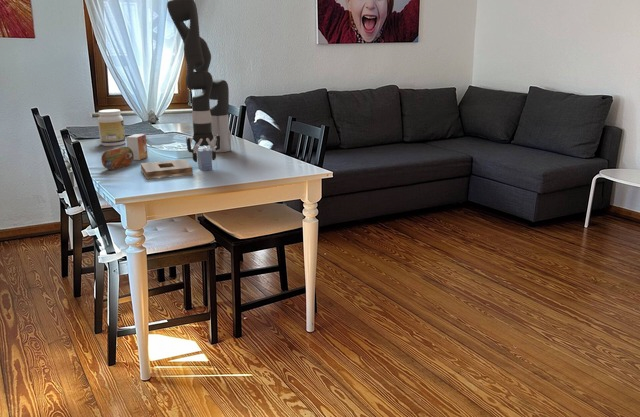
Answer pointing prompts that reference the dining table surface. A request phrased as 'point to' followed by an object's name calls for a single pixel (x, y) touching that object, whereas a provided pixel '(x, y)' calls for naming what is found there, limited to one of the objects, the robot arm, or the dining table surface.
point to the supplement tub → (111, 127)
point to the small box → (137, 146)
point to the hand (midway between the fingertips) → (204, 160)
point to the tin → (117, 158)
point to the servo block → (204, 159)
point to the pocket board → (166, 169)
